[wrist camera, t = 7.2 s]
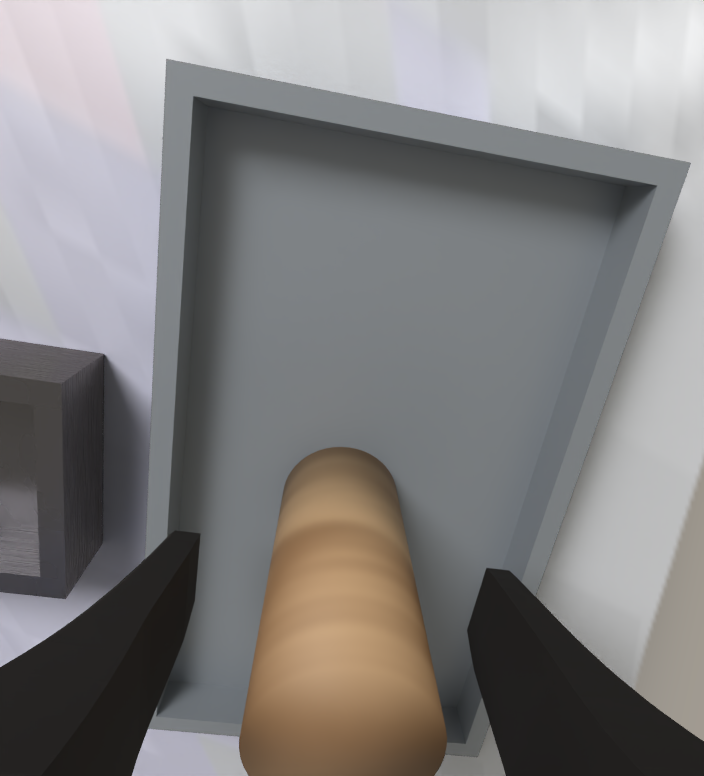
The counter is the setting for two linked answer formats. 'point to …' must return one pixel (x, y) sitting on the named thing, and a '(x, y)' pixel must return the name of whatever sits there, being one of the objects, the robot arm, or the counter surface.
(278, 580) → the oak dowel
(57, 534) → the pin holder
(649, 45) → the counter surface
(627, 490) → the counter surface
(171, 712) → the slate tray
